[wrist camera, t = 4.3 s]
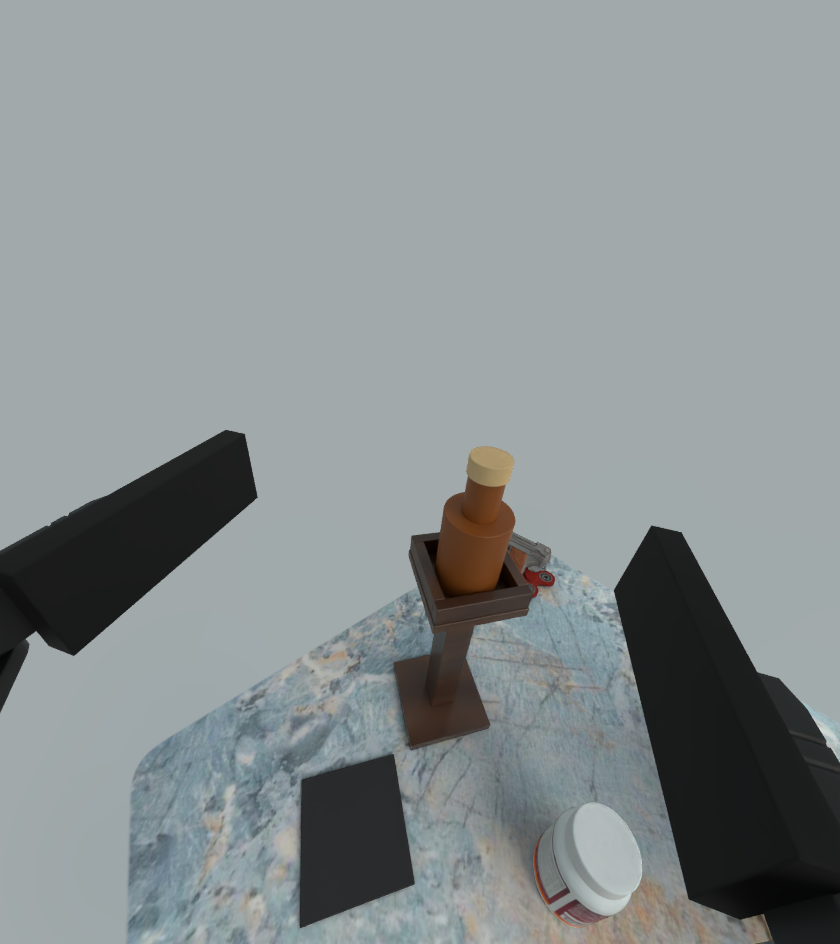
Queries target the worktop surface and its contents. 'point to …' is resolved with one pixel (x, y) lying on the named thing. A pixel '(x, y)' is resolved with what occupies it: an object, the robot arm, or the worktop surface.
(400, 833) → the mat
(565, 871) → the pill bottle
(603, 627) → the worktop surface
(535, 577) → the fidget spinner
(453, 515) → the bottle
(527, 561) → the pistol
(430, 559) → the holder
